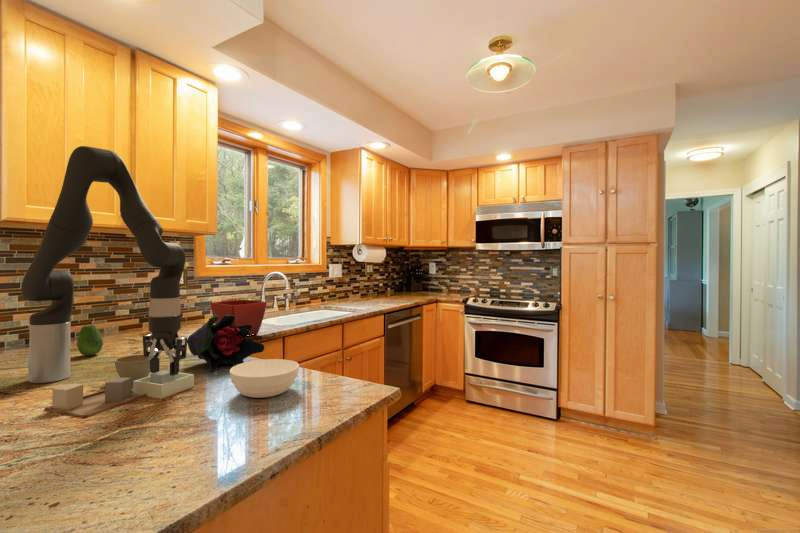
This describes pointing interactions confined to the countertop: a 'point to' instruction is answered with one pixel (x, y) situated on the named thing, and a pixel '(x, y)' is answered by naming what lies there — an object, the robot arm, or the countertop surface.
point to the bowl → (264, 377)
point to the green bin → (163, 386)
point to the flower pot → (133, 366)
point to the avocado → (89, 340)
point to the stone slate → (161, 377)
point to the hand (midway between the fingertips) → (164, 373)
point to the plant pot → (241, 312)
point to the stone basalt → (118, 389)
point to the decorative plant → (222, 342)
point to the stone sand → (67, 396)
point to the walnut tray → (94, 405)
